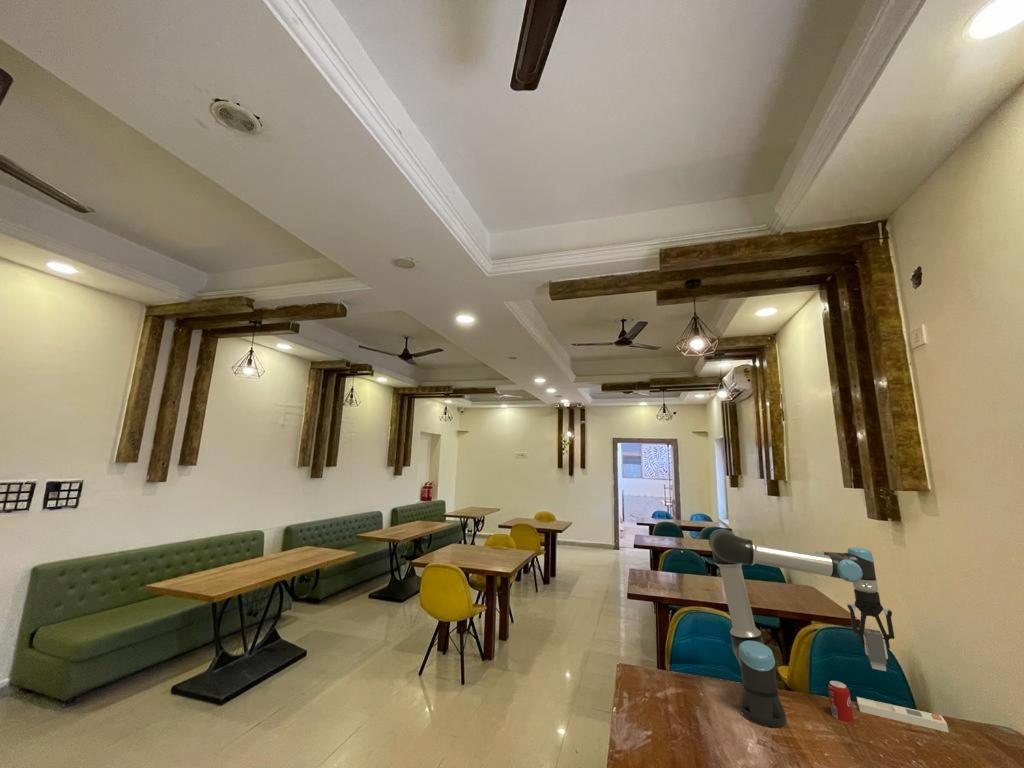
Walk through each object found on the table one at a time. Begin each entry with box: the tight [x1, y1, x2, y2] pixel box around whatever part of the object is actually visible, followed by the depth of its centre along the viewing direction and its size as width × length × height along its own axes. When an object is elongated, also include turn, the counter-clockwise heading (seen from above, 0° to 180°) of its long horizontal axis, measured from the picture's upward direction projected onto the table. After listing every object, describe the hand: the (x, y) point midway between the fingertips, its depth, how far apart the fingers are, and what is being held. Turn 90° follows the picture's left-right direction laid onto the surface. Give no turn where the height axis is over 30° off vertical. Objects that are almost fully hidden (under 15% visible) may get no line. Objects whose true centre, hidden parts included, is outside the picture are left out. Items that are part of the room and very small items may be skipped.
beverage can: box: [827, 680, 854, 724], centre depth 154 cm, size 6×6×12 cm
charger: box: [864, 627, 888, 672], centre depth 160 cm, size 5×5×13 cm
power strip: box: [851, 696, 950, 733], centre depth 154 cm, size 27×6×4 cm, turn 58°
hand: (876, 655), depth 159 cm, fingers closed on charger, 5 cm apart
